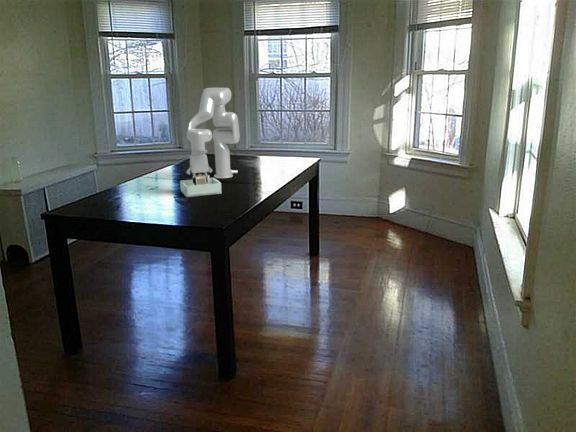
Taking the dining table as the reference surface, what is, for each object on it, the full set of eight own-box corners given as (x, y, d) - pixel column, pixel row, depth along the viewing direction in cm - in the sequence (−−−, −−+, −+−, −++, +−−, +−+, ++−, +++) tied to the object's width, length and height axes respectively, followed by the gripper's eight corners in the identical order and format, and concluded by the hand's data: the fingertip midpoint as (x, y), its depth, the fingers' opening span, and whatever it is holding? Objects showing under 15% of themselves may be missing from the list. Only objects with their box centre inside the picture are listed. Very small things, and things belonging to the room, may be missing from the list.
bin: (214, 187, 311) (213, 177, 310) (221, 193, 295) (221, 183, 294) (180, 190, 304) (179, 180, 303) (186, 197, 288) (185, 186, 287)
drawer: (194, 187, 301) (193, 173, 298) (204, 186, 303) (203, 172, 300) (196, 189, 296) (195, 174, 293) (206, 188, 298) (205, 173, 295)
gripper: (211, 150, 300) (213, 181, 305) (182, 153, 294) (184, 184, 299) (214, 152, 293) (216, 183, 298) (184, 154, 287) (186, 186, 292)
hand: (200, 183), depth 299 cm, fingers closed on drawer, 5 cm apart
